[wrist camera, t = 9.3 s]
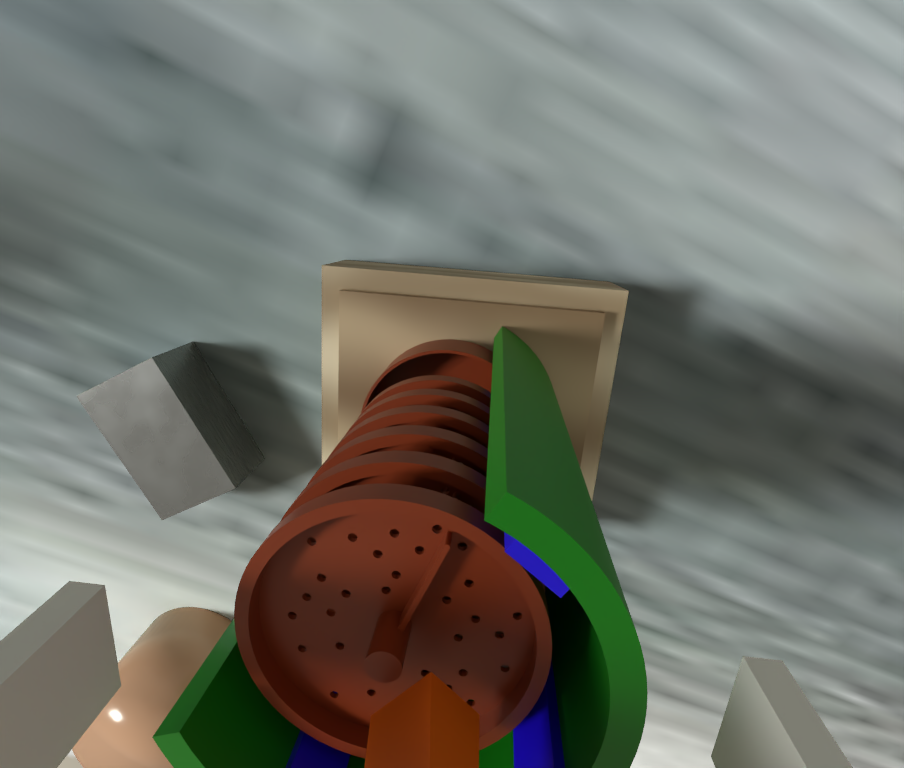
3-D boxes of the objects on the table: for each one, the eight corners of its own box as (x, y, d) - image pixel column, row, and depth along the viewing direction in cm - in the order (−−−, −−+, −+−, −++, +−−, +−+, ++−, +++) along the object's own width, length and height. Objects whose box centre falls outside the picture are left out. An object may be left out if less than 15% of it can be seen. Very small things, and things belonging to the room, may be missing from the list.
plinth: (345, 260, 28) (317, 266, 23) (609, 281, 27) (632, 292, 23) (342, 492, 32) (318, 535, 27) (571, 516, 31) (584, 564, 27)
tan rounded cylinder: (140, 600, 36) (58, 687, 29) (253, 613, 35) (197, 704, 29) (151, 690, 38) (79, 790, 31) (258, 704, 38) (207, 807, 31)
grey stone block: (127, 375, 31) (76, 396, 27) (194, 340, 30) (151, 357, 26) (200, 485, 33) (162, 520, 29) (266, 456, 32) (235, 488, 28)
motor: (445, 283, 23) (223, 554, 4) (601, 397, 24) (1014, 1048, 5) (328, 449, 26) (-126, 1069, 7) (472, 545, 27) (425, 1320, 8)
